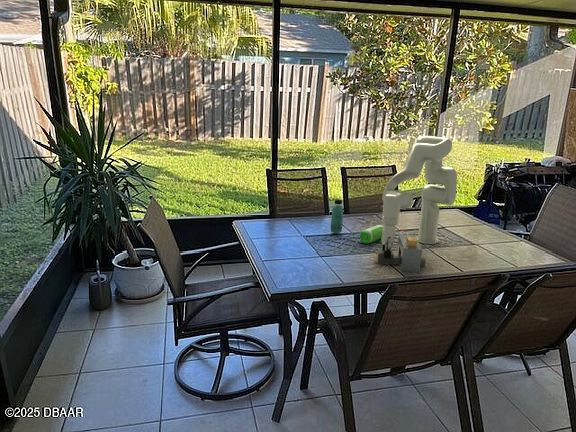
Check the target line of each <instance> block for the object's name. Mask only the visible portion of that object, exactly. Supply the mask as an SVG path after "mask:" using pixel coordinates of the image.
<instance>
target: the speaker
mask: <svg viewBox="0 0 576 432" xmlns="http://www.w3.org/2000/svg"><path fill="white" fill-rule="evenodd" d="M382 229H383V224H377V225H375V226H372V227H369V228H366V229H364V230H362V231H361V232H360V234H359V239H360V241H361V242H362V243H364V244H371V243H374V242H377V241H379V240H381V236H382Z"/></svg>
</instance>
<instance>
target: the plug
mask: <svg viewBox="0 0 576 432" xmlns="http://www.w3.org/2000/svg"><path fill="white" fill-rule="evenodd" d="M372 257H373V259H376V261H377V264H383V265H384V264H385V265H400V258H401V256H397V255H395V254H394V250H391V259H386V258H384V250H382V249H377V254H375V253H373V255H372ZM426 262H427V261H426V257H421V263H420V267H426V264H427V263H426Z"/></svg>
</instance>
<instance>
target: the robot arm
mask: <svg viewBox="0 0 576 432" xmlns="http://www.w3.org/2000/svg"><path fill="white" fill-rule="evenodd" d="M452 148H453V142H452V140H451V139H450V138H448V137H441V136H435V135H434V136H433V135H420V136H419V137H418V138H417V139H416V142H415V143H413V145H412V146H411V147H410V150H409V151H408V155H407V158H406V160H405V162H404V164H403V167H402V169H401V170H400V171H399V172H397V173H395V174H394V175H393V176H392V177H390V179H388V181H387V183H386V185H385V188H384V190H383V193H382V197H381V199H382V202H383V205H382V206H383V207H382V213H381V224H382V225H383V229H382V236H381V238H380V240H381V241H380V242H381V245H382V248H381V250H384V258H386V259H391V251H392V246H393V245H394V241H395V240H394V239H395V233H396V226H398V225H399V218H400V211H401V210H402V209H404V210H405V209H408V208H410V207H411V206H412V205H413V203H414V197H413V195H412V194H410V192H409V193H408V192H404V191H400V190H395V189H396V188H397V187H398V185H400V184H403V183H404V182H407V181H411V180H414V179H417V178H419V177H420V175H421V173H422V170H423V168H424V178H425V181H426V182H427V183H429V184H425V185H423V186H422V189H421V207H420V217H419V227H418V233H417V235H415V236H416V238H417V240H418V242H419V244H420V243H421V244H425V245H436V244H438V243H439V241H440V240H439V238H437V234H438V226H439V219H440V214H441V213H440V207H439V205H442V206H443V205H445V206H451V205H454V203H455V201H456V198H457V197H456V196H457V184H458V183H457V182H458V173H457V171H456V169H455V168H453V167H449V166H444V165H443V159H445V157H447V156H448V155H449V154H450V153H451V151H452Z"/></svg>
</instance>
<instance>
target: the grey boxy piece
mask: <svg viewBox="0 0 576 432" xmlns="http://www.w3.org/2000/svg"><path fill="white" fill-rule="evenodd" d="M416 236H417V235H415V234H414V235H411V234H398V239H397V246H396V247H397V249H396V256H401V258H400V264H399V269H400V271H401V272H409V273H420V270H421V269H420V268H421V266H420V263H421V258H422V252H423V249H422V247H421V244H420V242H418V240H417V238H416Z"/></svg>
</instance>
